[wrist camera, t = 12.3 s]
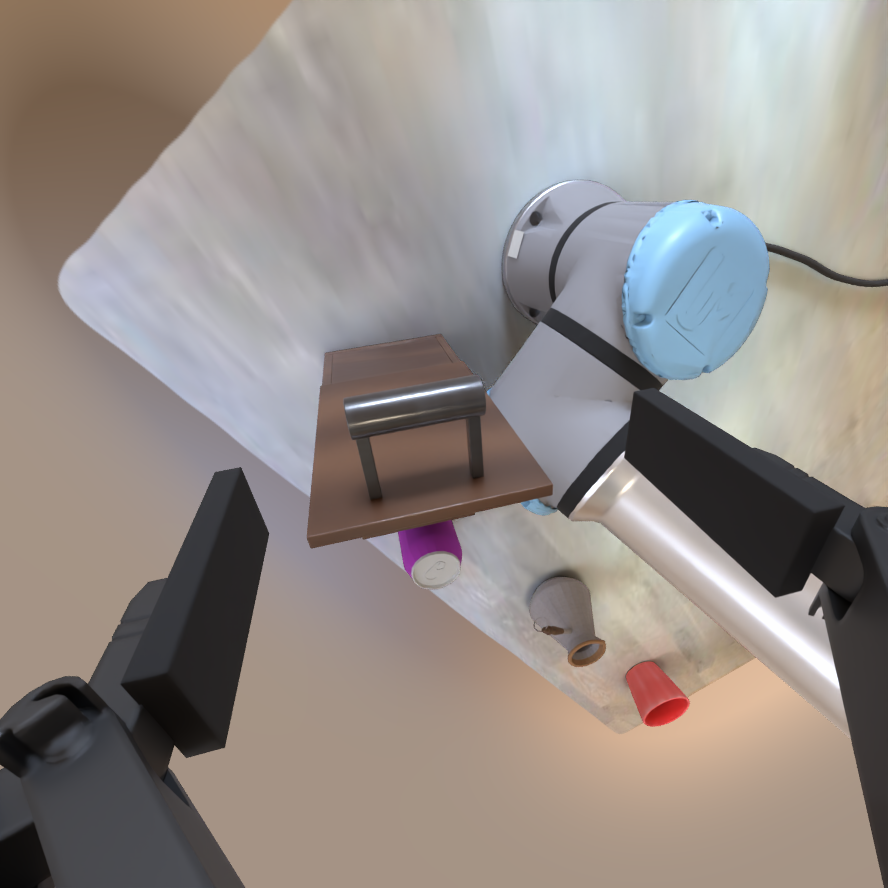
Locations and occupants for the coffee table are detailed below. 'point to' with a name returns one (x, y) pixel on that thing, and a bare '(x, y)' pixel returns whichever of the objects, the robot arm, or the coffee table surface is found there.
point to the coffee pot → (568, 618)
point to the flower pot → (655, 694)
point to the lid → (413, 454)
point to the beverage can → (431, 554)
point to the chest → (388, 369)
